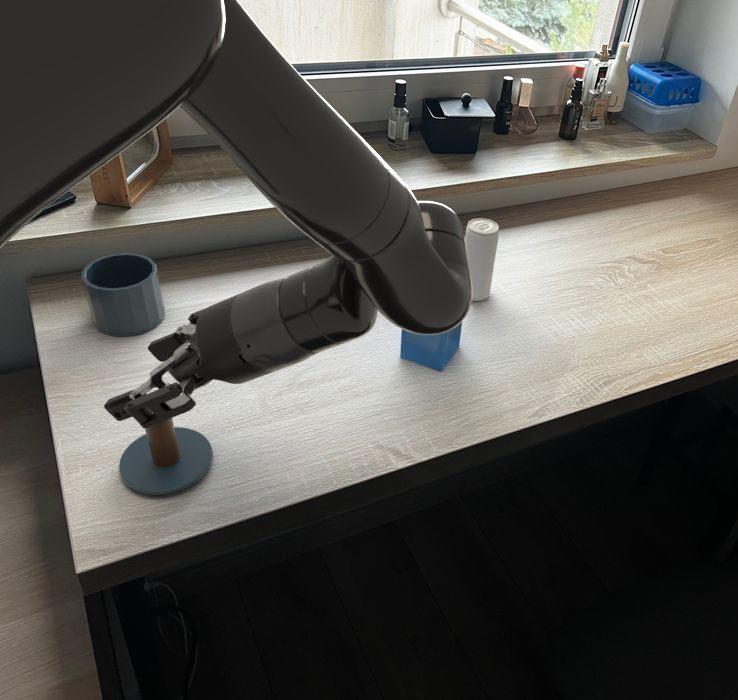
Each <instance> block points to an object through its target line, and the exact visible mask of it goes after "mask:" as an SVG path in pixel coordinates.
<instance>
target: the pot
mask: <svg viewBox="0 0 738 700" xmlns="http://www.w3.org/2000/svg"><path fill="white" fill-rule="evenodd" d="M81 281H82V282H81V283H82V286H83V289H84V293H85V296H86V300H87V303H88V307H89V311H90V314H91V318H92V322H93V323H94V325H95V327H96V329H97V330H98V331H99V332H101V333H103V334H105V335H108V336H111V337H121V338H122V337H134V336H139V335H142V334H145V333H148V332H150V331H152V330H154V329H156V328H157V327H158V326H160V325H161V323H162V322H163V321H164V319H165V317H166V311H165V304H164V298H163V292H162V289H161V284H160V283H161V282H160V278H159V273H158V268H157V264H156V263H155V261H153V260H152V258H151V257H148V256H146V255H143V254H139V253H132V252H131V253H130V252H123V253H122V252H121V253H111V254H108V255H104V256H101V257H98V258H96V259H94V260H93V261H91V262H89V263H87V265H85V267H84V268H83V269H82V270H81Z"/></svg>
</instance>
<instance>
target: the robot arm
mask: <svg viewBox="0 0 738 700" xmlns="http://www.w3.org/2000/svg"><path fill="white" fill-rule="evenodd" d="M180 108H181V109H182V110H183V111H184V112H185V113H186V114H187V115H188V116H189V117H190V118H192V120H193V121H195V122H196V123H197V124H198V125H199V126H200V127H201V128H202V129H203V130H204V131H205V132H206V133H207V135H208V136H209V137H211V139H213V140H214V141H215V143H217V145H219V146H220V148H221V149H222V150H223V151H224V153H226V154H227V155H228V157H230V159H231V160H232V161H233V162H234V163H235V164H236V166H237V167H238V168H239V169H240V170H241V171H242V172H243V174H244V175H245V176H246V177H247V179H249V181H250V182H251V184H253V185H254V186H255V188H256V189H257V190H258V191H259V192H260V193H261V195H263V197H264V198H266V200H267V201H268V202H269V203H270V204H271V205H272V206H273V207H274V208H275V209H276V210H277V211H278V212H279V213H280V214H281V215H282V216H284V217H285V218H286V219H287V220H288V221H289V223H291V224H292V225H294V227H296V228H297V229H298V230H299V231H300V232H302V233H303V235H306V236H307V237H308V238H310V239H311V240H312V241H313V242H315V243H316V244H317V245H319V246H320V247H322V248H323V249H325V250H326V252H328V253H329V254H331V256H329V257H328V258H327V259H326V260H323V262H320V263H317V264H315V265H313V266H310V267H308V268H305V269H302V270H300V271H298V272H295V273H293V274H291V275H288V276H286V277H285V276H284V277H282V278H279V279H275V280H271V281H266V282H264V283H261V284H258V285H257V286H255V287H251V288H250V289H247V290H244V291H242V292H239V293H238V294H235V295H233V296H231V297H228V298H226V299H224V300H221V301H219V302H216V303H214V304H211V305H209V306H207V307H205V308H203V309H200V310H197V311H195V312H192V313H191V314H190V315H189V316H188V318H187V320H188V321H189V323H187V324H186V323H185V324H184V323H183V324H182V325H179V326H178V327H177V328H176V330H175V331H174V332H172V333H170V334H167V335H164V336H162V337H160V338H157V339H154V340H153V341H151V342H150V343H149V345H148V346H147V350H148V351H149V352H150V354H151V355H152V356H153V357H154V358H155V359H156V360H157V361H158V362H161V363H160V364H159V365H158V366H156V367H155V368H154V369H152V370H151V371H150V372H149V379H148V380H146V381H144V383H142V384H141V385H139V386H138V387H137V388H135V389H132V390H131V389H130V390H129V391H126V392H124V393H121V394H118V395H115V396H113V397H111V398H108V399H107V401H106V402H105V403H104V404H103V408H104V409H105V410H106V412H107V413H108V414H110V415H111V416H112V417H113V418H114V419H115V420H116V421H117V422H122V421H125V420H128V419H130V418H133V419H134V420H135V421H136V422H137V423H138V424H139V425H140V426H141V428H142V429H145V428H148V427H150V426H153V425H155V424H158V423H160V422H163V421H165V420H168V419H170V418H172V419H174V418H175V417H178V416H180V415H183V414H185V413H187V412H190V411H191V410H193V409H194V407H195V406H196V405H197V401H196V400H195V399H194V398H193V397H192V395H193V392H195V391H196V390H197V389H199V388H202V387H206V386H207V385H208V384H210V383H211V382H212V381H213V380H214V381H220V382H224V383H227V384H233V385H240V384H245V383H247V382H250V381H253V380H256V379H258V378H261V377H264V376H267V375H270V374H273V373H275V372H278V371H281V370H284V369H286V368H289V367H292V366H295V365H297V364H300V363H302V362H304V361H306V360H308V359H310V358H311V357H313V356H315V355H317V354H319V353H322V352H325V351H327V350H330V349H333V348H335V347H338V346H341V345H344V344H346V343H347V344H348V343H349V342H352V341H354V340H358V339H360V338H362V337H364V336H365V335H368V334H369V333H370V331H371V330H372V329H373V327H374V326H375V325H376V321H377V317H378V312H379V313H380V315H382V316H383V318H385V319H386V321H388V322H389V323H391V324H392V325H394V326H395V327H397V328H399V329H401V330H402V329H403V330H405V331H408V332H411V333H414V334H420V335H436V334H441V333H445V332H447V331H449V330H451V329H453V328H455V327H456V326H458V325H459V324H460V323H461V322H462V323H463V321H464V320H465V319H466V317H467V316H468V314H469V312H470V310H471V309H472V308H471V307H472V304H473V301H472V298H473V290H472V283H471V277H470V271H469V265H468V259H467V253H466V248H465V234H464V230H463V229H464V228H463V226H462V223H461V220H460V218H459V216H458V214H457V213H456V212H455V211H453V210H452V209H451V208H450V207H448V206H447V205H445V204H443V203H439V202H436V201H431V200H417V198H416V197H415V195H414V193H413V192H412V190H411V188H409V186H408V185H407V183H405V181H404V180H402V178H401V177H400V175H398V174H397V173H396V172H395V171H394V170H393V169H392V168H391V166H390V165H389V164H388V163H387V162H386V161H385V160H384V159H383V158H382V157H381V156H380V154H378V153H377V152H376V151H375V150H374V148H373V147H371V145H369V143H368V142H366V140H365V139H364V138H363V137H362V136H361V135H360V134H359V133H358V132H357V131H356V130H355V129H354V128H353V127H352V126H351V125H350V124H349V123H348V122H347V121H346V120H345V119H344V118H343V117H342V116H341V115H340V114H339V113H338V112H337V111H336V110H335V109H334V108H333V107H332V106H331V105H330V104H329V102H327V101H326V100H325V98H323V97H322V96H321V94H319V93H318V92H317V91H316V89H315V88H314V87H313V86H312V85H311V84H310V83H309V82H308V81H307V80H306V79H305V78H304V77H303V76H302V75H301V74H300V73H299V71H297V70H296V68H294V66H293V65H292V64H291V63H290V62H289V60H287V58H285V56H283V54H282V53H281V51H279V49H278V48H277V47H276V46H275V45H274V43H272V41H271V40H270V38H269V37H267V36H266V34H265V33H264V32H263V30H262V29H261V28H260V27H259V26H258V24H257V23H256V22H255V21H254V19H253V18H252V17H251V16H250V15H249V13H248V12H247V11H246V10H245V9H244V6H242V4H241V3H240V2H239V0H0V250H1V249H2V248H3V247H5V245H6V244H8V243H9V241H10V240H12V239H13V238H14V237H15V235H17V234H18V233H19V232H20V231H21V230H22V229H24V228H25V226H27V225H28V223H30V222H31V221H32V220H34V219H35V218H36V217H37V216H39V215H40V214H41V213H42V212H43V211H44V210H46V209H47V208H48V207H50V206H51V205H52V204H54V203H55V202H57V200H59V199H60V198H61V197H63V196H64V195H65V194H67V193H68V192H69V191H71V190H72V189H74V188H75V187H76V186H77V185H79V184H81V182H83V181H84V180H86V179H87V178H88V177H90V176H91V175H93V174H94V173H95V172H97V171H98V170H99V169H101V168H102V167H104V166H105V165H107V164H108V163H110V162H111V161H112V160H113V159H115V158H116V157H117V156H119V155H120V154H121V153H123V152H124V151H126V150H127V149H129V148H130V147H131V146H132V145H134V144H135V143H137V142H138V141H140V140H141V139H142V138H144V137H145V136H146V135H148V134H149V133H150V132H151V131H152V130H155V128H157V127H158V126H160V124H162V123H163V122H164V121H166V120H167V119H168V118H169V117H171V116H172V115H173V114H174V113H175V112H176V111H178V110H179V109H180ZM166 373H169V375H170V376H171V377H172V378H173V379H174V380H175V381H176V382H175V381H174V382H173V383H170V382H168V381H167V380H166V379H165V378H164V377H163V376H164V375H165V374H166ZM155 388H157V389H156V390H154V391H152V390H153V389H155ZM150 391H151V392H150Z"/></svg>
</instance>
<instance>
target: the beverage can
mask: <svg viewBox="0 0 738 700" xmlns="http://www.w3.org/2000/svg"><path fill="white" fill-rule="evenodd" d="M499 229H500V227H499V224H498V223H497V222H496V221H494V220H492V219H489V218H485V217H484V218H483V217H479V218H473V219H470V220H469V221H468V222H467V226H466V230H465V237H464V240H465V248H466V253H467V259H468V265H469V271H470V277H471V283H472V290H473V298H472V302H481V301H484V300H486V299H488V297H490V294H491V289H492V282H493V274H494V267H495V262H496V255H497V249H498V243H499V235H500V230H499Z"/></svg>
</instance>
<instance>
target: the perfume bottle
mask: <svg viewBox="0 0 738 700" xmlns="http://www.w3.org/2000/svg"><path fill="white" fill-rule="evenodd" d="M462 327H463V321H462V322H461V323H460V324H459V325H458V326H456V327H455V328H453V329H451V330H449V331H447V332H445V333H441V334H436V335H420V334H414V333H411V332H408V331H405V330H403V329H401V332H400V333H401V334H400V335H401V336H400V352H399V358H401V359H404V360H407V361H409V362H413V363H415V364H418V365H422V366H424V367H428V368H430V369H433V370H436V371H439V372H442V371H443V370H444V369H445V367H446V366H447V364H448V363H449V362H450V360H451V359H452V358H453V356H454V355H455V354H456V352H457V350H458V349H459V348H460V344H461V333H462Z"/></svg>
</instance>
